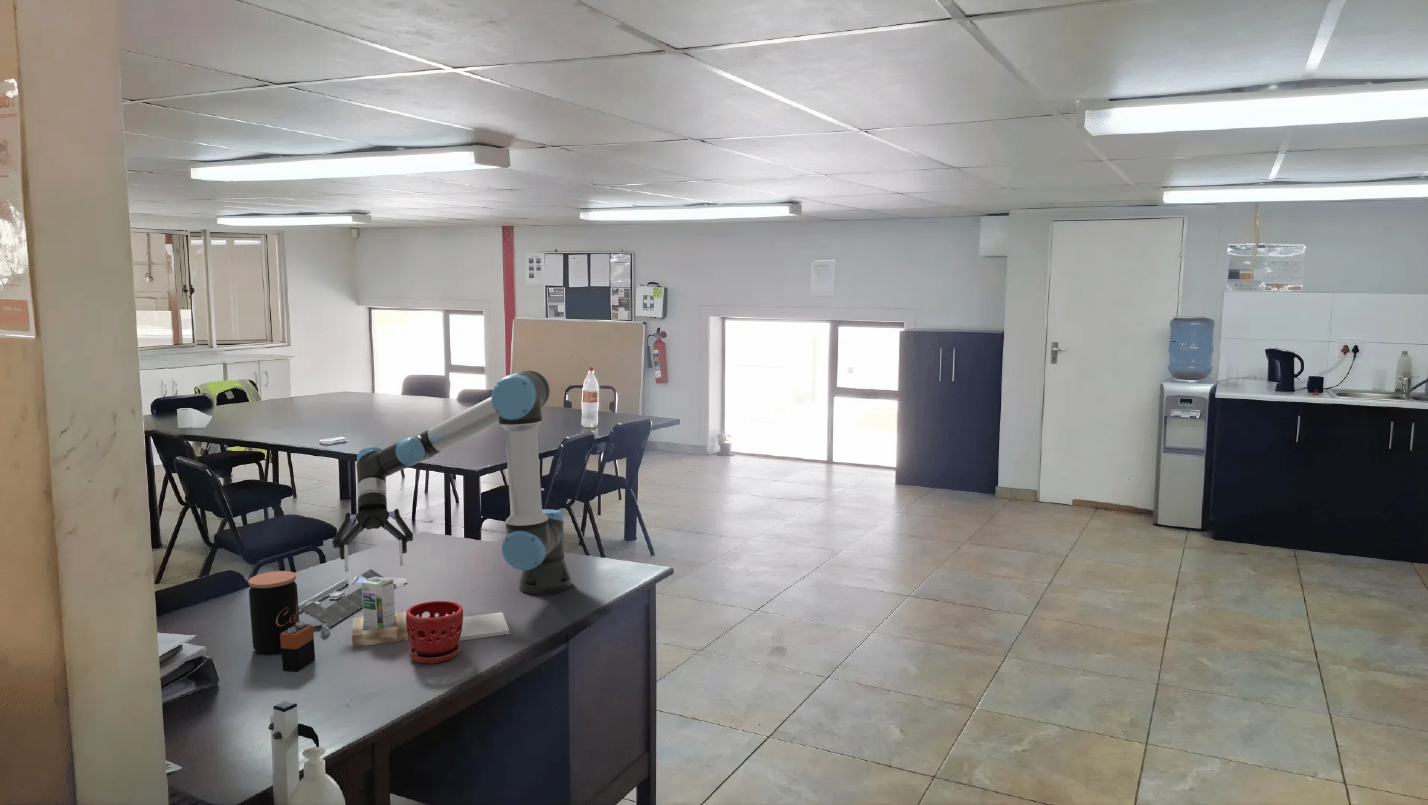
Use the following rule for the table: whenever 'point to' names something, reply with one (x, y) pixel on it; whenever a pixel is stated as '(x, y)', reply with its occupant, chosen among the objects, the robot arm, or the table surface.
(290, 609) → the coffee jar
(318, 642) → the table surface
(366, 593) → the syrup box
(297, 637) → the battery
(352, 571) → the table surface
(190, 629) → the table surface
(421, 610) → the plant pot
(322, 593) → the paper cutter
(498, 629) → the white mat
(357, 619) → the wooden holder
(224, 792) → the table surface
